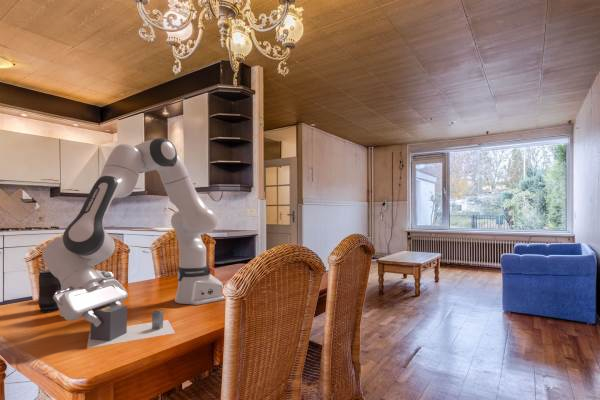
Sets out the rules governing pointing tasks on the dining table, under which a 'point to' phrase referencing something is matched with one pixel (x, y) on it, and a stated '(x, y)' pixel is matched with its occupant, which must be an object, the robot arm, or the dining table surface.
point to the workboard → (135, 334)
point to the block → (110, 322)
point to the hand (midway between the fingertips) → (111, 320)
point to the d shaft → (157, 319)
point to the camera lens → (48, 291)
